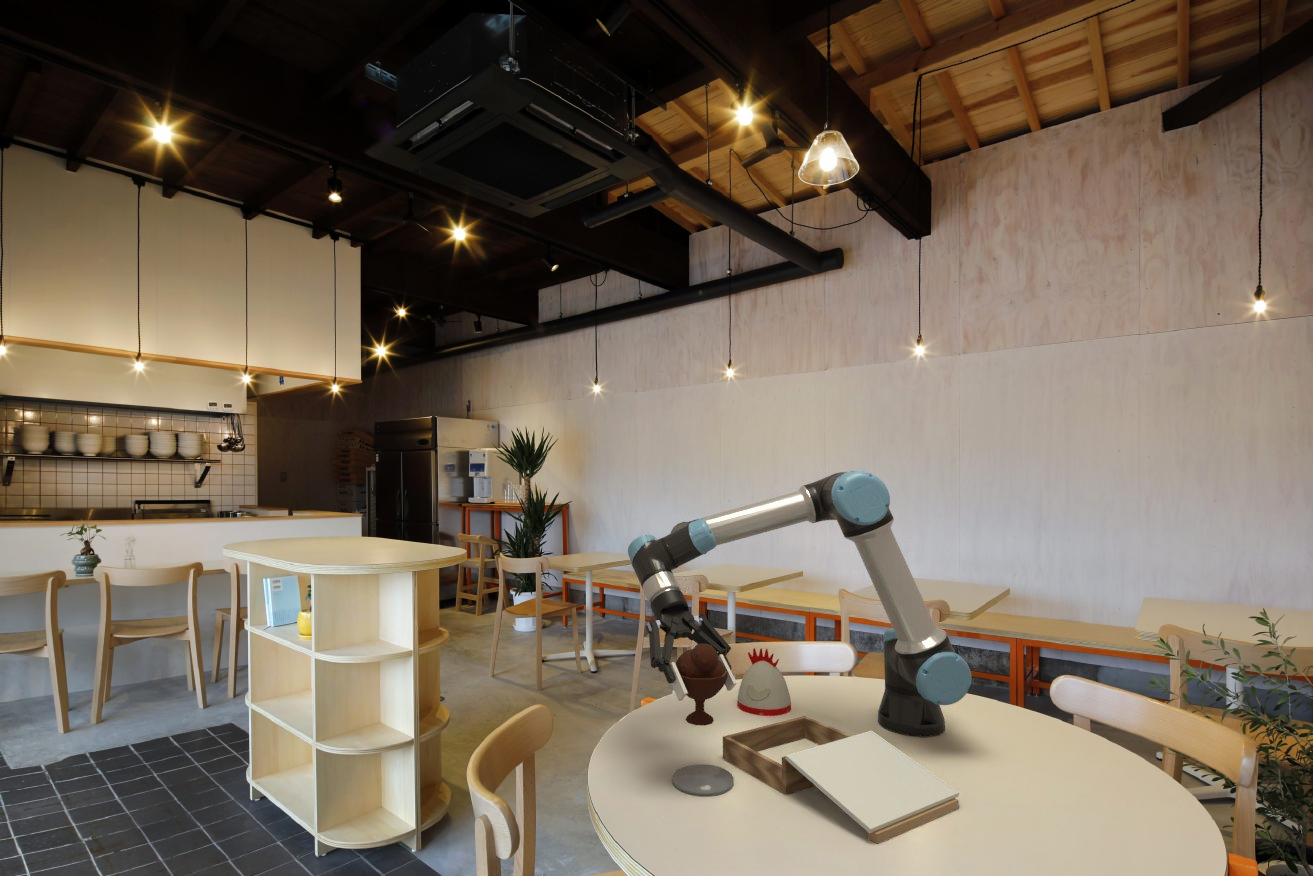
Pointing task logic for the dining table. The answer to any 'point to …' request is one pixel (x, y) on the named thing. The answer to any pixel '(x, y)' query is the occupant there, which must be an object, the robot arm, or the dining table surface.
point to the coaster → (702, 780)
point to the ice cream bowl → (701, 679)
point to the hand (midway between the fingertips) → (708, 692)
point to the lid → (876, 784)
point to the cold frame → (747, 743)
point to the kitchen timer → (763, 688)
